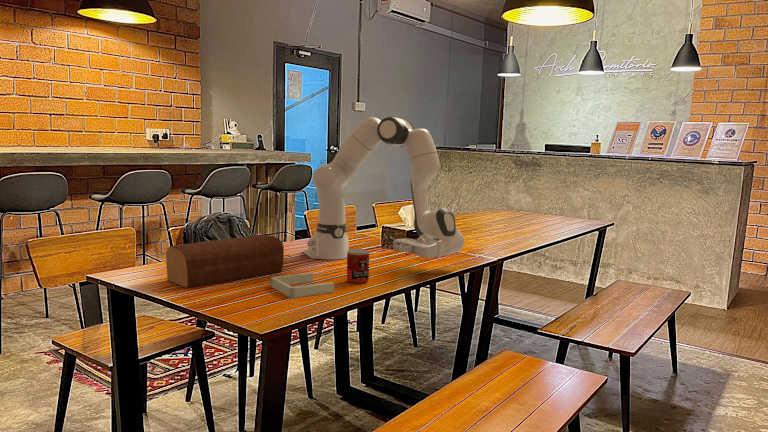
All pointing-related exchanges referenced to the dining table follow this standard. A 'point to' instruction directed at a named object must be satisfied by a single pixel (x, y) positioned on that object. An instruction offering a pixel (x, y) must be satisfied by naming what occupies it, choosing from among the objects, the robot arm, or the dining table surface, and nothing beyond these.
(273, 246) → the bread
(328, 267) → the dining table surface
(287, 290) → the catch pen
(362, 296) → the dining table surface
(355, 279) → the canned food
